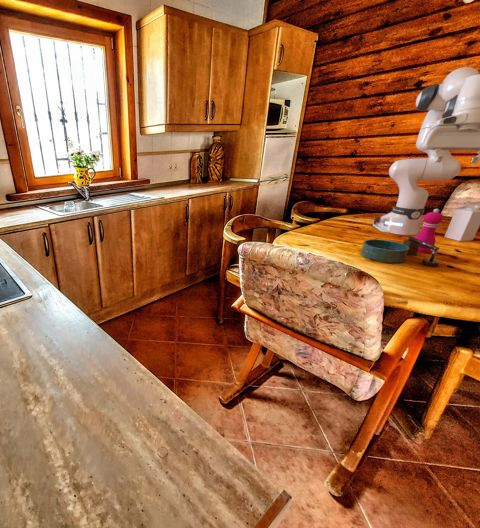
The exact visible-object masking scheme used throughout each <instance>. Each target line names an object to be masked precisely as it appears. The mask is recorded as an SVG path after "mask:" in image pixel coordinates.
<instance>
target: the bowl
mask: <svg viewBox="0 0 480 528" xmlns="http://www.w3.org/2000/svg"><path fill="white" fill-rule="evenodd" d="M408 250H409V247H408V246H406V245H404V244H403V243H402V242H398V241H393V240H387V239H366V240H364V241H363V243H362V247H361V250H360V254H361V256H362V257H364V258H366V259H368V260H371V261H374V262H378V263H383V264H399V263H403V262H405V261H406V258H407V257H408V256H407V253H408Z"/></svg>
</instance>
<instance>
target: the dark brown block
mask: <svg viewBox="0 0 480 528" xmlns="http://www.w3.org/2000/svg"><path fill="white" fill-rule="evenodd" d="M402 244H404V245H406V246H408V247H409V250H408V253H407V256H406V257H416V256H417V254H418V249H419V246H420V244H418V243H416V242H414V241H411V240H409V239H408V238H407V239H403V242H402Z"/></svg>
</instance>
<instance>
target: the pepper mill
mask: <svg viewBox="0 0 480 528" xmlns="http://www.w3.org/2000/svg"><path fill="white" fill-rule="evenodd" d="M443 221H444V215H443V213H441V212H440V209H439V208H434V209H433V211H432V212H427V213H426V214H425V215H424V216H423V222H422V223H423V224H422V229H421V232H420V233H419V234H418V235H415V237H414V238H417V239H419V240H422V241H424V242H427V243H429V244H431V245H434V246H436V235H435V234H436V229H438V227H439V226H440V223H441V222H443ZM431 250H432V249H430V248H428V247H425V246H423V245H421V244H420V246H419V249H418V252H417V254H418V253H420V254H430V253H431Z"/></svg>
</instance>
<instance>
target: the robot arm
mask: <svg viewBox="0 0 480 528" xmlns="http://www.w3.org/2000/svg"><path fill="white" fill-rule="evenodd" d="M415 109H416V110H417V111H419V112H426V111H427V113H426V115H425V117H424V119H423V121H422V123H421V126H420V129H419V132H418V134H417V139H416V142H415V148H416V149H417V150H418V151H421V152H423V153H425V154H427V156H428V157H426V158H421V157H419V158H403V159H398V160H396V161H394V162H392V164H391V166H390V167H389V170H388V176H389V178H391V180H393V181H394V182H395V183H396V184H397V187H398V197H397V200H396V205H392V206H391V208H392V209H391V212H388V213H387V214H384V215H382V216H378V217H376V218H374V220H373V223H372V226H373V227H374V228H376V229H377V230H378V231H379V232H381V233H388V234H394V235H400V236H401V235H402V236H417V235H418V234H419V233H420V232H421V231H422V229H421V227H422V223H423V220H424V217H423V215H424V212H425V209H426V207H425V206H426V203H427V201H428V198H429V192H428V190H427V189H425V188H423V187H421V186H419V185H417V182H419V181H420V182H439V181H448V180H452V179H453V178H455V177H456V176H457V175H458V174H459V173H460V171H461V168H462V165H461V162H460V161H459V160H458V159H457V158H456V157H454V156H453V155H452V154H451V152H450V151H477V152H476V153H477V155H476V156H473V157H471V158H470V162H469V164H478V163H479V162H480V72H479V71H478V70H477V69H476V68H474V67H470V66H462V67H459V68H456V69H454V70H452V71H451V72H449V73H448V74H447V75H446V76H445V78H444V79H443V80H442V83H433V84H432V85H430V86H426V87H425V88H424V89H422V90H421V91H420V93H419V94H418V95H417V97H416V99H415Z"/></svg>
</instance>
